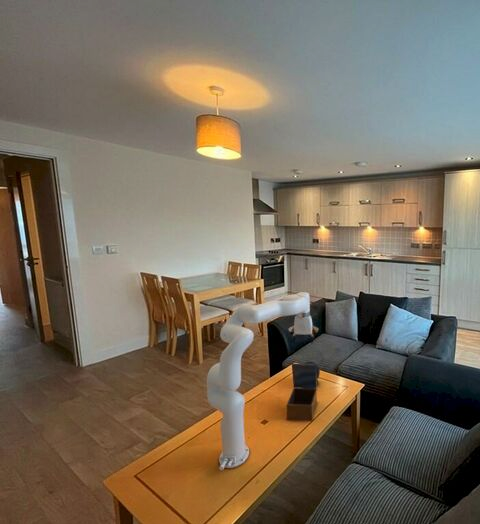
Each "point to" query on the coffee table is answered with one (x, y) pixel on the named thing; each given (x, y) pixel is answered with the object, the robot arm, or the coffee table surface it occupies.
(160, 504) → the coffee table surface
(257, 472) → the coffee table surface
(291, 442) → the coffee table surface
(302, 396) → the brown box
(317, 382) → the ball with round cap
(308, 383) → the blue-grey square panel
